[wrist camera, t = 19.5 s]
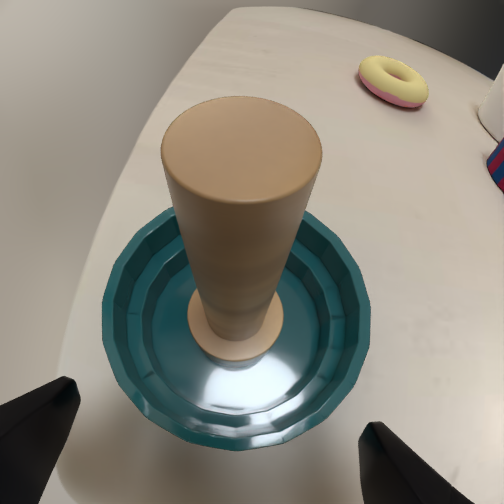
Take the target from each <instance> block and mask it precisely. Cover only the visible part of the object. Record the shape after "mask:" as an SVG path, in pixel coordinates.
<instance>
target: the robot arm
mask: <svg viewBox="0 0 504 504" xmlns="http://www.w3.org/2000/svg"><path fill="white" fill-rule="evenodd" d="M80 402H81V398H80V394H79V391H78V388H77V384H76V382H75V380H74V379H71V378H69V377H66V376H62V377H60V378H58V379H56V380H53V381H52V382H49V383H47V384H45V385H43V386H41V387H39V388H37V389H35V390H33V391H31V392H28V393H26V394H24V395H22V396H20V397H18V398H15V399H13V400H11V401H9V402H7V403H5V404H3V405H0V504H38V503H39V501H40V498H41V496H42V494H43V491H44V489H45V487H46V484H47V482H48V480H49V477H50V475H51V473H52V471H53V468H54V467H55V464H56V462H57V460H58V458H59V456H60V454H61V452H62V449H63V447H64V445H65V443H66V441H67V438H68V436H69V433H70V430H71V427H72V425H73V422H74V419H75V416H76V413H77V411H78V408H79V405H80ZM358 448H359V464H360V481H361V489H362V495H363V501H364V504H474V503H473V502H472V501H470V500H469V499H468V498H466V497H465V496H464V495H463V494H461V493H460V492H459V491H458V490H457V489H455V488H454V487H453V486H452V485H451V484H450V483H449V482H447V481H446V480H445V479H444V478H443V477H442V476H441V475H439V474H438V473H437V472H436V471H435V470H434V469H433V468H432V467H430V466H429V465H428V464H427V463H426V462H425V461H424V460H423V459H422V458H421V457H419V456H418V455H417V454H416V453H415V452H414V451H413V450H412V449H411V448H410V447H408V446H407V445H406V444H405V443H404V442H403V441H402V440H401V439H400V438H399V437H398V436H397V435H396V434H394V433H393V432H392V431H391V430H390V429H389V428H388V427H387V426H386V425H385V424H384V423H382V422H380V421H378V422H369V423H368V424H367V426H366V427H365V429H364V431H363V433H362V434H361V436H360V438H359V441H358Z"/></svg>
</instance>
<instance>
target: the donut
mask: <svg viewBox="0 0 504 504" xmlns="http://www.w3.org/2000/svg"><path fill="white" fill-rule="evenodd" d="M359 76H360V78H361V80H362V82H363V83H364V85H365V86H366V87H367V88H368V89H369V90H370V91H371V92H373V93H374V94H375V95H377V96H378V97H380V98H382V99H384V100H386V101H388V102H390V103H393V104H395V105H399V106H403V107H418V106H420V105H422V104H424V103H425V102H426V100H427V98H428V94H429V91H428V86H427V84H426V82H425V81H424V79H423V78H422V77H421V76H420V75H419V74H418V73H417V72H416V71H415V70H413V69H412V68H411V67H409V66H407V65H406V64H404V63H402V62H400V61H397V60H395V59H392V58H388V57H384V56H370V57H367V58H365V59H364V60H363V61H362V62H361V63H360V65H359Z"/></svg>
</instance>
